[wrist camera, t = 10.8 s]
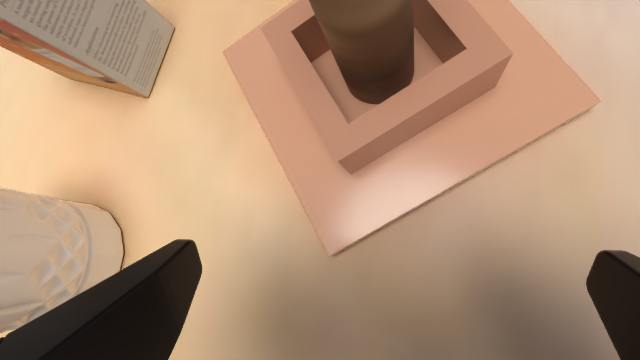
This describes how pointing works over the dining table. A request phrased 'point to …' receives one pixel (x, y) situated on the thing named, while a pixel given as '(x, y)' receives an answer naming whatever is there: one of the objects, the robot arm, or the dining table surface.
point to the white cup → (51, 253)
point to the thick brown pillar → (370, 44)
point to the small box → (89, 39)
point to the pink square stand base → (402, 110)
